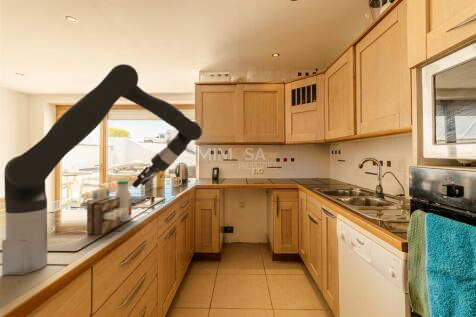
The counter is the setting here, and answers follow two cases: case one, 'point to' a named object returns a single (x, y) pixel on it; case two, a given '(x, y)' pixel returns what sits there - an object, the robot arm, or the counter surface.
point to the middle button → (118, 212)
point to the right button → (124, 210)
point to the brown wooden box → (95, 215)
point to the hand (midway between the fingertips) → (138, 184)
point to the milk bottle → (124, 199)
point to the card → (100, 194)
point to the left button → (109, 216)
